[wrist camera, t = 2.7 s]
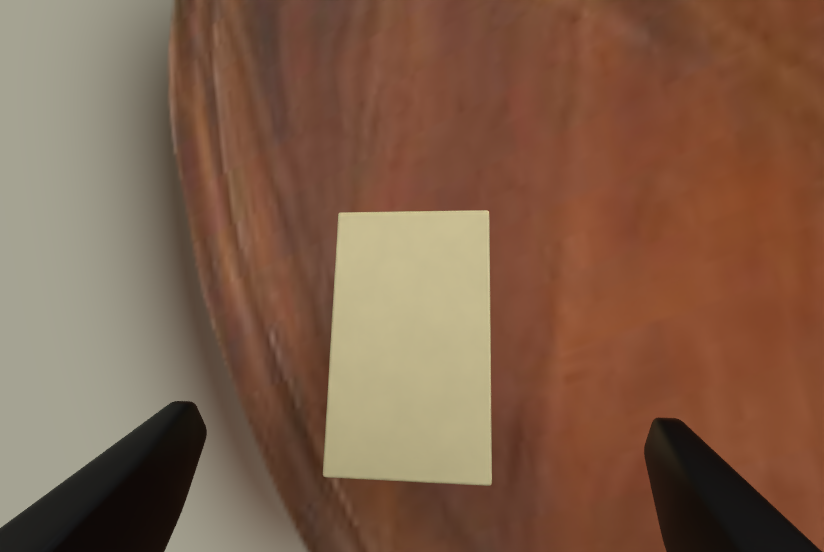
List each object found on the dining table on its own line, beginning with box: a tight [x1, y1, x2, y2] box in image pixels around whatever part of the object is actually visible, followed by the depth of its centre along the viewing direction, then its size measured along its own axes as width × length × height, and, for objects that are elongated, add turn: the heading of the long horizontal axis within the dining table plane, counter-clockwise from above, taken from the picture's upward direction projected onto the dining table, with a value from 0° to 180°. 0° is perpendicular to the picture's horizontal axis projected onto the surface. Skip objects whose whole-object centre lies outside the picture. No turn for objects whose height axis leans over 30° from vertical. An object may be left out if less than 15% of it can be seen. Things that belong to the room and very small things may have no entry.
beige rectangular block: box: [323, 210, 492, 486], centre depth 14 cm, size 5×3×10 cm, turn 179°
